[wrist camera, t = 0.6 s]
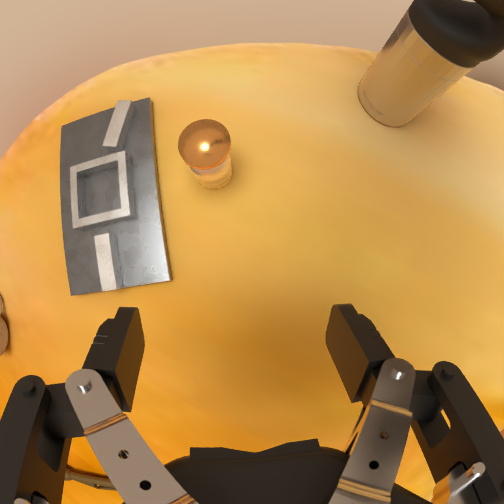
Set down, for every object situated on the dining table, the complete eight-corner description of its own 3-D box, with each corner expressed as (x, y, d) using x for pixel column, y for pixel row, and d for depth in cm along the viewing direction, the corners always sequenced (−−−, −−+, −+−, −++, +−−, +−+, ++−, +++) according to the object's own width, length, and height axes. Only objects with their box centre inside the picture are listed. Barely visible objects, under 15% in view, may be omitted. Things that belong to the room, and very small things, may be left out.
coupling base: (66, 129, 36) (54, 121, 32) (152, 102, 36) (145, 90, 32) (76, 294, 35) (63, 297, 32) (172, 279, 36) (165, 281, 32)
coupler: (220, 147, 36) (213, 110, 26) (241, 177, 36) (240, 148, 26) (187, 167, 36) (169, 136, 26) (207, 198, 36) (194, 176, 26)
